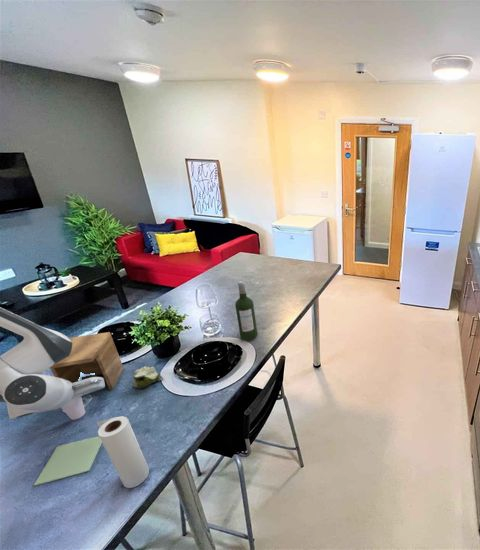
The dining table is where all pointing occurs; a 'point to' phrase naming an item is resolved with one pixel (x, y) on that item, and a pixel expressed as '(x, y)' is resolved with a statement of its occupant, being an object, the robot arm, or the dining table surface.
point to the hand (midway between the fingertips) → (69, 397)
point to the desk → (91, 359)
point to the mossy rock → (145, 377)
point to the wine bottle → (245, 314)
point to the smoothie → (74, 408)
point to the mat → (70, 460)
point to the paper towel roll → (123, 450)
